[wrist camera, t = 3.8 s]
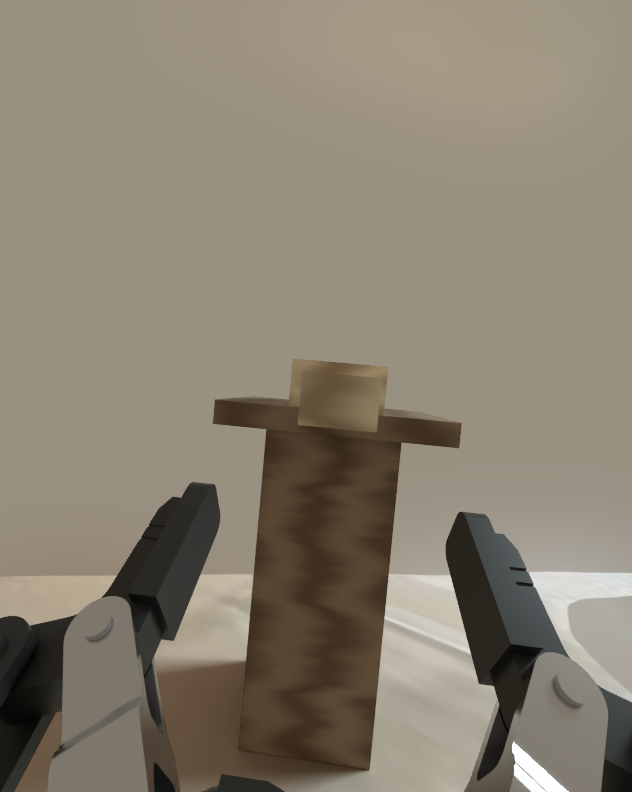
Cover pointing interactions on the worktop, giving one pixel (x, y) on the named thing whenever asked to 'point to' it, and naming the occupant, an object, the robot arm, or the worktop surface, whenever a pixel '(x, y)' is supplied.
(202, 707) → the worktop surface
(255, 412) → the wooden t-shaped post
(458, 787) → the worktop surface
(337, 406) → the beige stepped hammer block
